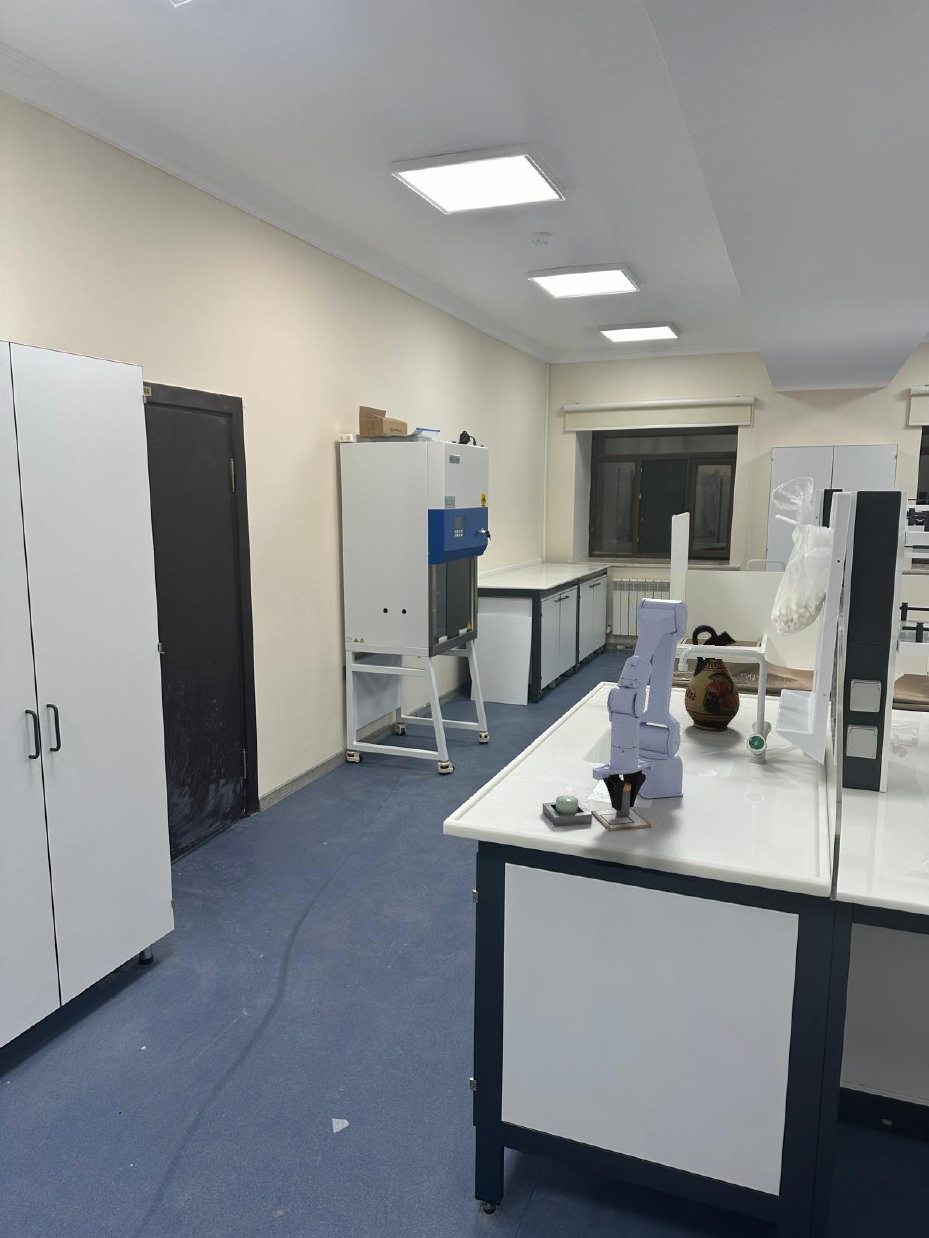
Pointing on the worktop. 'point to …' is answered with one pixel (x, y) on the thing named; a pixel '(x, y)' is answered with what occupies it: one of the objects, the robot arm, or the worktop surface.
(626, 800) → the marker
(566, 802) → the button
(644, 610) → the robot arm
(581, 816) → the button housing
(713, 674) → the ceramic jug
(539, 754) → the worktop surface
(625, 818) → the wooden framed board
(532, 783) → the worktop surface
